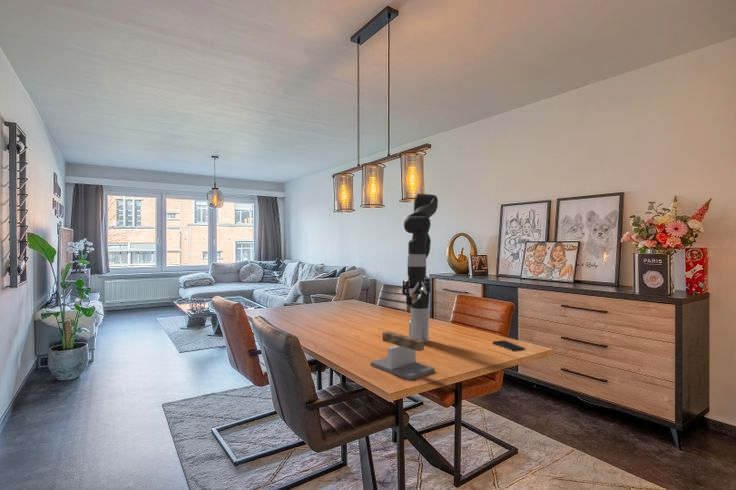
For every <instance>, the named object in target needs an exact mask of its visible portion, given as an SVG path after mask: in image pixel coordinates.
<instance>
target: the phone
mask: <svg viewBox="0 0 736 490" xmlns="http://www.w3.org/2000/svg"><path fill="white" fill-rule="evenodd" d="M492 345H495V346H497V345H498V346H497V347H500V346H501V348H502V347H504V348H503V349H505V348H506V350H508V349H509V350H508V351H510V350H512V351H511V352H517V351H516V350H520V351H525V350H524V349H526V348H525V346H524V347H523V346H521V345H518V344H515V343H512V342H510V341H506V340H497V341H492Z"/></svg>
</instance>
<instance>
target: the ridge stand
mask: <svg viewBox="0 0 736 490" xmlns="http://www.w3.org/2000/svg"><path fill="white" fill-rule="evenodd" d="M416 360H417V359H416V350H413V349H409V348H406V347H402V346H399V345H394V346H390V347H389V346H388V347H387V357H384V358H379V359H378V360H373V361H371V362H370V366H371V367H374V368H377V369H379V370H381V371H385V372H387V373H390V374H393V375H396V376H398V377H401V378H404V379H406V380H409V381H414V380H415V379H418V378H420V377H423V376H427V375H429V374H433V373H435V370H436V369H435V367H434V366H429V365H426V364H424V363H420V362H417V361H416Z"/></svg>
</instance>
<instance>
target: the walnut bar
mask: <svg viewBox="0 0 736 490" xmlns="http://www.w3.org/2000/svg"><path fill="white" fill-rule="evenodd" d="M382 341H383V342H384V343H388V344H392V345H394V346H397V345H399V346H402V347H406V348H409V349H413V350H416V351H417V352H422V351H424V350H425V343H424V341H423V340H419V339H415V338H411V337H409V336H406V335H404V334H403V335H402V334H399V333H395V332H391V331H384V332H382Z"/></svg>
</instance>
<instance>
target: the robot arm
mask: <svg viewBox="0 0 736 490" xmlns="http://www.w3.org/2000/svg"><path fill="white" fill-rule="evenodd" d="M438 204H439V200H438V196H437V195H435V194H430V193H429V194H428V193H427V194H426V193H416V194H415V196H414V200H413V213H411V214H409V215H407V216H406V218H405V220H404V222H403V228H404V230H405V232H406V233H408V234H412V238H411V239H409V241H408V244H407V245H408V249H407V250H408V253H407V255H408V256H407V276H408V278H407V279H403V280H402V293H401V294H402V295H403V296H405V298H406V299H405V301H406V302H405V303H406V306H409V307H410V321H409V322H408V337H411V338H415V339H419V340H423V341H424V344H425V343H429V338H430V337H429V336H430V335H429V333H430V332H429V328H430V325H429V324H430V322H429V321H430V312H429V309H430V292H431V278H430V277H428V276H427V258H428V257H429V255H430V252H431V251H430V250H431V243H432V242H431V240H432V239H431V237H430V235H429V231H430V229H431V220H430V218H431V217H432V216H433V215H435V213H436V212H437V209H438ZM413 295H420V296H419V297H418V298H416V299H413Z"/></svg>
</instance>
